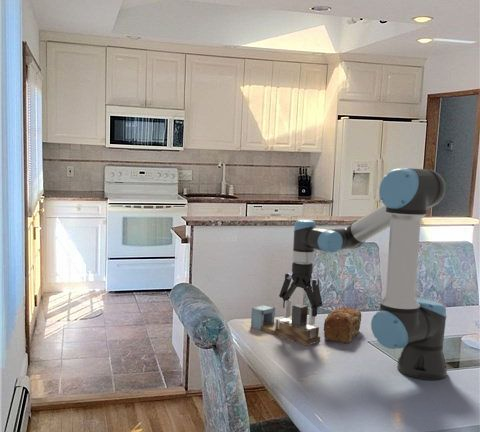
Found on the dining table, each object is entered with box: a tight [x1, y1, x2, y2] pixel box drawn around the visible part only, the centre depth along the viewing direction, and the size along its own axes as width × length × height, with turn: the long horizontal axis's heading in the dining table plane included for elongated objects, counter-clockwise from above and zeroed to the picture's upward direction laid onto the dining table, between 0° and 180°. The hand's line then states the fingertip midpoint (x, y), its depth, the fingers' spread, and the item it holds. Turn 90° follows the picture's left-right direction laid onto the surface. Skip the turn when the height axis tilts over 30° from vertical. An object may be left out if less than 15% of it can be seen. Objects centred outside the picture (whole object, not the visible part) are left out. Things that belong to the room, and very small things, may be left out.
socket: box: [250, 304, 276, 331], centre depth 219 cm, size 5×8×8 cm, turn 137°
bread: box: [323, 306, 362, 344], centre depth 213 cm, size 19×11×10 cm, turn 155°
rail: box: [260, 318, 321, 346], centre depth 212 cm, size 27×8×5 cm, turn 47°
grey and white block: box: [275, 303, 318, 339], centre depth 208 cm, size 16×4×11 cm, turn 47°
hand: (299, 320), depth 207 cm, fingers open, 11 cm apart
